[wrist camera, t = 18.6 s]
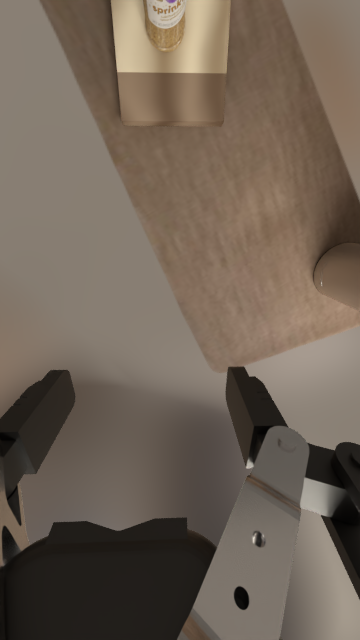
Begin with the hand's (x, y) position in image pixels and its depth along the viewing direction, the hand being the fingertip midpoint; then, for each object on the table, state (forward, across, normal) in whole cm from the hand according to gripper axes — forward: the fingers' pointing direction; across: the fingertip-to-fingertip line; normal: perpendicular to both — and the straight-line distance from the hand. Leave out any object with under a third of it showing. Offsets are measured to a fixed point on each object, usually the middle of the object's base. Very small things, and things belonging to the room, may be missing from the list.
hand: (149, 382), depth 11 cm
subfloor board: (+28, -2, -26) cm, 38 cm away
